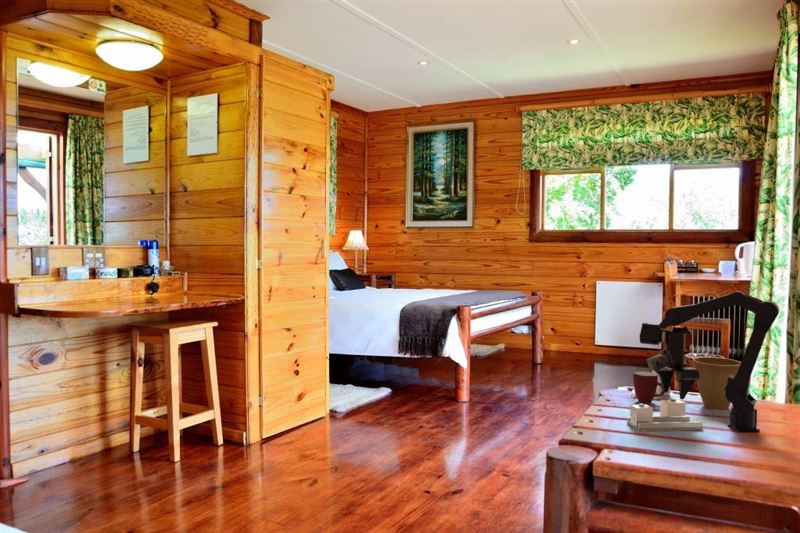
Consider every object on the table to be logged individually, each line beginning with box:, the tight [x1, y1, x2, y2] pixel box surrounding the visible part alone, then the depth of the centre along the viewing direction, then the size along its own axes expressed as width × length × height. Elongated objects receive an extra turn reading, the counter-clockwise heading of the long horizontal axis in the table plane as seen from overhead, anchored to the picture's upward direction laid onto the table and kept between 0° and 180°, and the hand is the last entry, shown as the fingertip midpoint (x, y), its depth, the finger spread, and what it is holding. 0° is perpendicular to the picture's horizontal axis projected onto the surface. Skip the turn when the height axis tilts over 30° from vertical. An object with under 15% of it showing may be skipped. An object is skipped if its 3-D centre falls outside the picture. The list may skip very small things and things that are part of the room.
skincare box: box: [651, 369, 671, 396], centre depth 235 cm, size 6×4×12 cm
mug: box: [632, 370, 665, 404], centre depth 221 cm, size 10×8×10 cm
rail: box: [626, 403, 704, 432], centre depth 191 cm, size 20×8×7 cm, turn 98°
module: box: [659, 398, 686, 416], centre depth 201 cm, size 6×4×6 cm, turn 98°
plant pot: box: [692, 356, 741, 411], centre depth 215 cm, size 15×15×16 cm
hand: (673, 395), depth 200 cm, fingers open, 9 cm apart
